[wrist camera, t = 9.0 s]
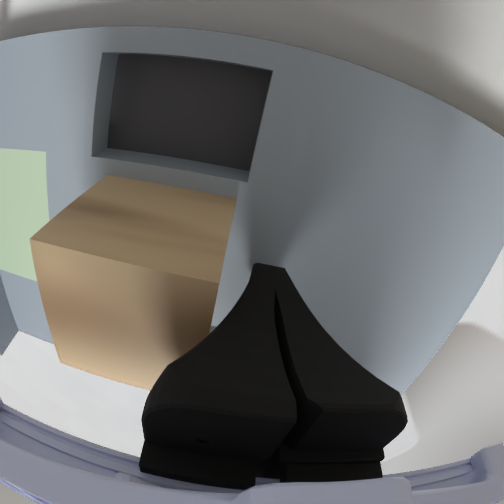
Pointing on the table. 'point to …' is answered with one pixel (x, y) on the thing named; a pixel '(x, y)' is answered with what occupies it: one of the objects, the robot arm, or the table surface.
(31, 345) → the table surface
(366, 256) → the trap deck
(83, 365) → the oak block
